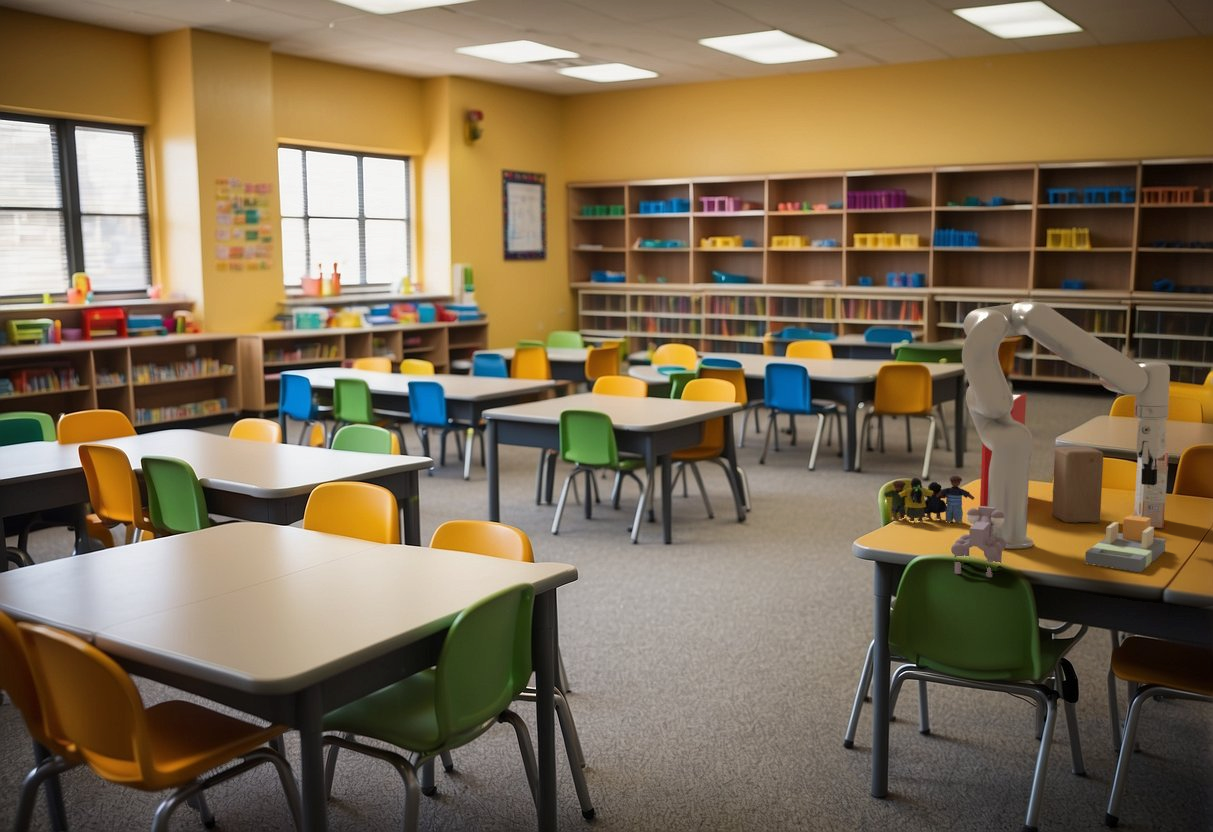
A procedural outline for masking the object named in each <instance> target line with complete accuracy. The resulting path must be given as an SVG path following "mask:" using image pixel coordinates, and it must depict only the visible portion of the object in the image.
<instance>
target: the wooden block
mask: <svg viewBox="0 0 1213 832" xmlns="http://www.w3.org/2000/svg"><path fill="white" fill-rule="evenodd" d="M1103 469H1104V452H1103V451H1101V450H1099V449H1096V448H1093V447H1090V446H1086V445H1085V446H1084V445H1083V446H1082V445H1078V446H1077V445H1076V446H1075V445H1074V446H1073V445H1071V446H1068V445H1067V446H1056V447H1055V448H1054V464H1053V481H1052V483H1053V484H1052V485H1053V486H1052V487H1053V488H1052V507H1051V513H1052V516H1053V517H1054V518H1057V519H1059V520H1060V521H1062V522H1064V523H1066V522H1097V523H1099V522H1100V521H1101V513H1102V512H1101V510H1102V508H1101V507H1102V490H1103V489H1102V488H1103V473H1104V472H1103Z"/></svg>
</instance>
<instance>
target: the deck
mask: <svg viewBox="0 0 1213 832" xmlns="http://www.w3.org/2000/svg"><path fill="white" fill-rule="evenodd" d="M1119 523H1120V522H1117V521H1114V522H1112V523H1110V524H1109V525H1108V526H1106V529H1105V537H1104V538H1103V539H1102V540H1101V541H1099V542H1098V543H1097V544H1095V545H1093V546H1092V547H1090V548H1089V549H1088V550H1086V551H1085V558H1084V561H1085V562H1084V564H1085V563H1088V564H1095V565H1100V566H1099V567H1101V566H1107V567H1106V568H1108V567H1113V568H1112V569H1114V568H1118V569H1117V570H1121V569H1123V571H1127V570H1129V572H1135V573H1142V571H1144V570H1145V569H1146V568H1147V567H1149V566H1150V565H1151V564H1150V563H1151V562H1152V561H1153V562H1154V561H1155V560H1157V559H1158V558H1159V557H1160V556H1162V554H1164V553H1165V552H1166V544H1167V543H1166V541H1167V539H1166V538H1160V537H1154V536H1155V535H1154V534H1155V528H1154V527H1148V528H1147V529H1146V530H1144V531H1143V532H1142V541H1136V540H1129V539H1123V532H1121V533H1120V532H1119ZM1163 552H1164V553H1163ZM1158 556H1159V557H1158ZM1156 558H1157V559H1156ZM1153 562H1152V563H1153ZM1088 564H1087V565H1088ZM1095 565H1094V566H1095ZM1144 568H1145V569H1144ZM1143 569H1144V570H1143Z"/></svg>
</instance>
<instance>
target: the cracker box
mask: <svg viewBox="0 0 1213 832" xmlns="http://www.w3.org/2000/svg"><path fill="white" fill-rule="evenodd" d="M1169 458H1170V452H1168V451H1167V450H1166V454H1165V455H1163V456H1162V457H1160V458H1158V463H1157V484H1155V485H1144V484H1142V483H1141V479H1142V457H1141V458H1139V457H1138V456H1137V462H1136V463H1137V465H1136V466H1137V467H1136V477H1135V479H1136V480H1135V492H1134V493H1135V495H1134V509H1133V510H1134V511H1133V516H1139V517H1147V518H1151V523H1150V527H1154V529H1161V530H1162V529H1164V528H1165V527H1164V525H1165V512H1166V496H1167V483H1168V471H1169ZM1155 469H1156V468H1155Z"/></svg>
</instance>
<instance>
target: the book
mask: <svg viewBox="0 0 1213 832" xmlns="http://www.w3.org/2000/svg"><path fill="white" fill-rule="evenodd" d="M1012 395H1013V400H1014V404H1013V408H1012V410H1011V412H1010V413H1011V416H1012V418H1013V420H1015V421H1018V422H1020V423H1022V424H1023V425H1025V426H1026V407H1027V406H1026V405H1027V404H1026V403H1027V392H1024V393H1022V394H1012ZM981 442H982V441H981ZM981 444H982V445H981V463H980V464H981V465H980V466H981V470H980V471H981V472H980V493H979V494H980V495H979V496H980V497H979V506H985V507H988V485H989V482H988V481H989V467H990V461H991V456H992V451H991V450H990V449H988V448H987V447H986V446H985V445H984V444H983V442H982V443H981Z"/></svg>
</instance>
